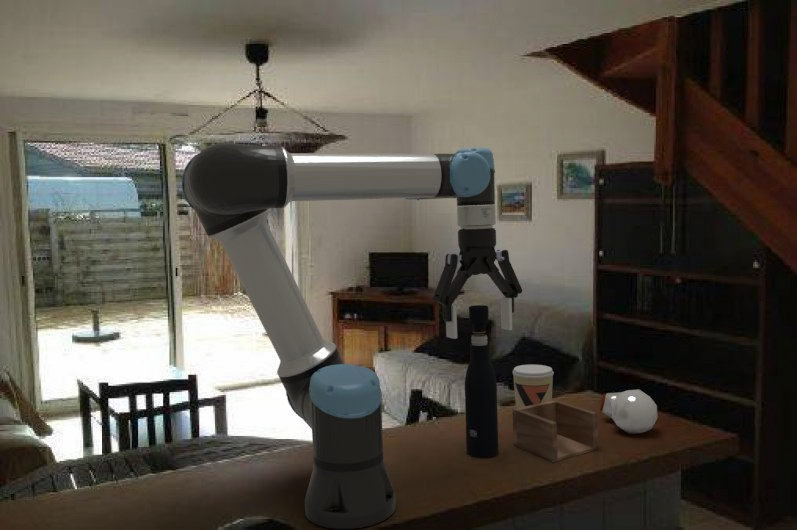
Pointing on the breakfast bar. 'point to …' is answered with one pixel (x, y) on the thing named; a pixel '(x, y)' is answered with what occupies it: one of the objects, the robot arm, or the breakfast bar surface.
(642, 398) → the potion bottle
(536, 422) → the u rest
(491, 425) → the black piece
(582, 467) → the breakfast bar surface
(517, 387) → the coffee cup
